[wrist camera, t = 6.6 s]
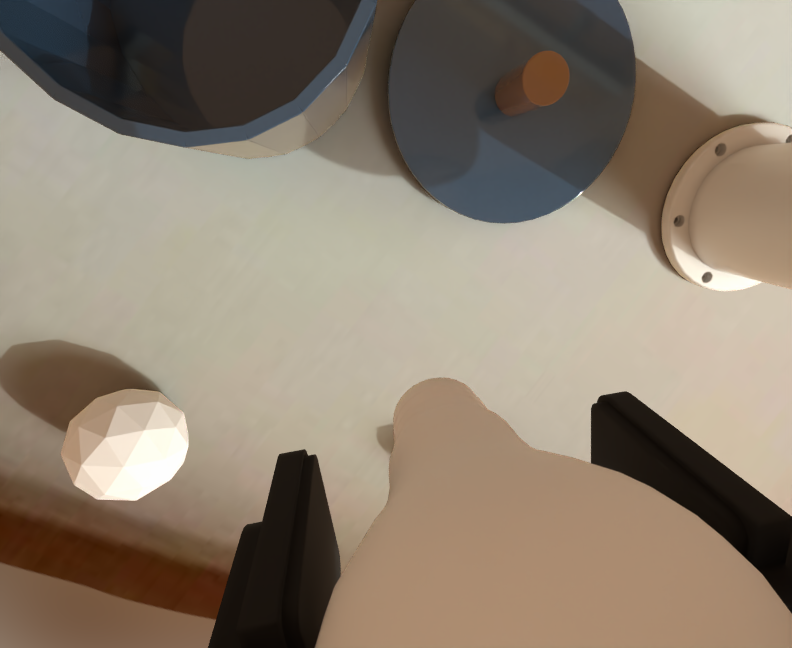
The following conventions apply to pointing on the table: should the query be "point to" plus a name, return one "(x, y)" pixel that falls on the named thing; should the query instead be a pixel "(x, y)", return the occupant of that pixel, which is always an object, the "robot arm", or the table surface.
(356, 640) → the lightbulb
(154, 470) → the geometric ball
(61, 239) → the table surface
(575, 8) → the lid
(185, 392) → the table surface
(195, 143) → the dark blue cylindrical pot
